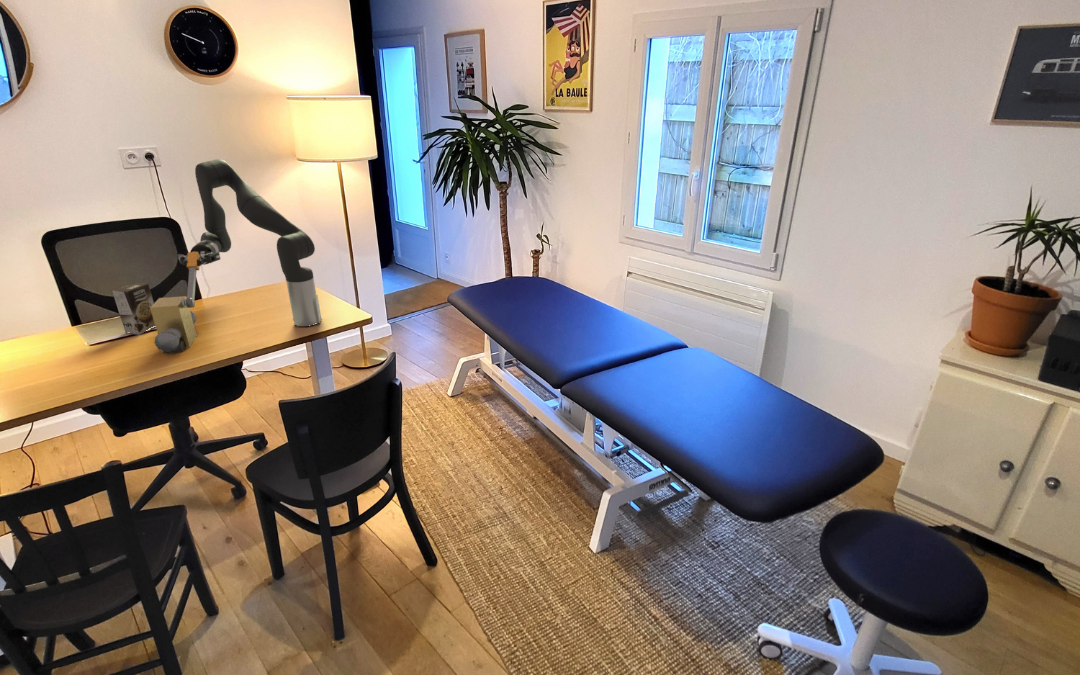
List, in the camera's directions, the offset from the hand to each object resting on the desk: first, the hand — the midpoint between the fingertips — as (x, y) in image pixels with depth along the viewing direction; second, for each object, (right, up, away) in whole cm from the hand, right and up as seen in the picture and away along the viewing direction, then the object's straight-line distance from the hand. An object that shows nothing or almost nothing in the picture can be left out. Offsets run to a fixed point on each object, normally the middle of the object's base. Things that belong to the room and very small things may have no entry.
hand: (192, 263), depth 190 cm
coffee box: (-23, -23, +9) cm, 33 cm away
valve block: (-3, -27, -1) cm, 27 cm away
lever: (+3, -15, -6) cm, 17 cm away
